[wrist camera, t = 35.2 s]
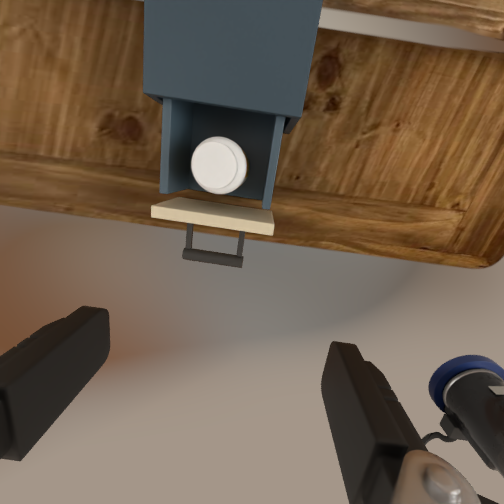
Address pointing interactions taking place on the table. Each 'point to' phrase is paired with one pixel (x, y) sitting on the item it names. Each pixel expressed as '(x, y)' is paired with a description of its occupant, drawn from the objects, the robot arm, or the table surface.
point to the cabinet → (231, 53)
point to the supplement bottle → (219, 165)
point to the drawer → (204, 212)
